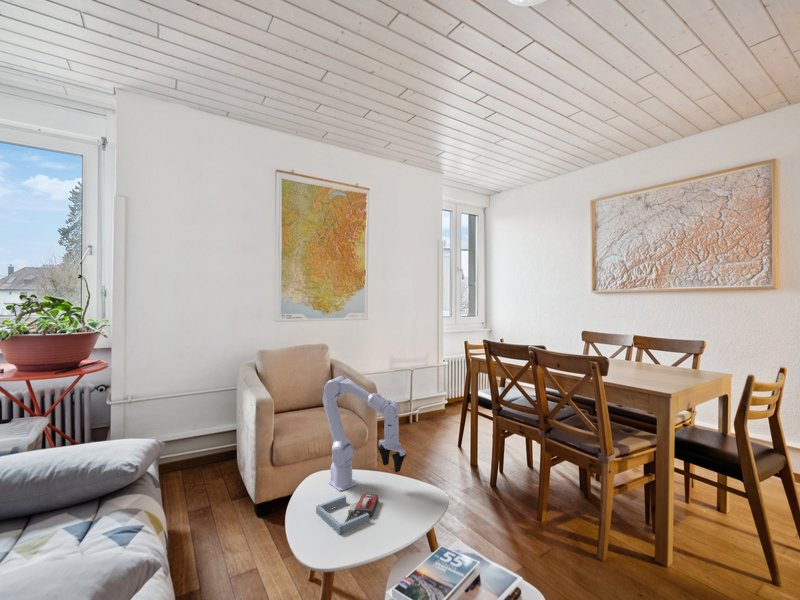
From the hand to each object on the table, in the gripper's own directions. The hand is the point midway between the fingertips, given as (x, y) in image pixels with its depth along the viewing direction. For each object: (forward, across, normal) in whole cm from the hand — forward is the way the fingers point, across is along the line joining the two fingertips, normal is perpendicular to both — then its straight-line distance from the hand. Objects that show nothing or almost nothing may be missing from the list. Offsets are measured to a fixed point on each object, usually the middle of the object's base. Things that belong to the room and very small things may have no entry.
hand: (391, 468), depth 151 cm
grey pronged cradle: (+9, -3, +24) cm, 25 cm away
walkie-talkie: (+10, -5, +18) cm, 21 cm away
